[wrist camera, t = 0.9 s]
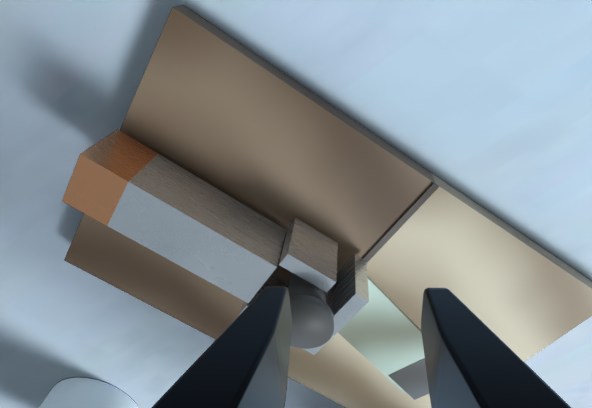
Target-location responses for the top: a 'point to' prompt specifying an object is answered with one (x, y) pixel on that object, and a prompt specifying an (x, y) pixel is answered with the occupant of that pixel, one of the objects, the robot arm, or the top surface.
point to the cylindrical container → (86, 395)
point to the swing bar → (208, 227)
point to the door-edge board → (325, 223)
